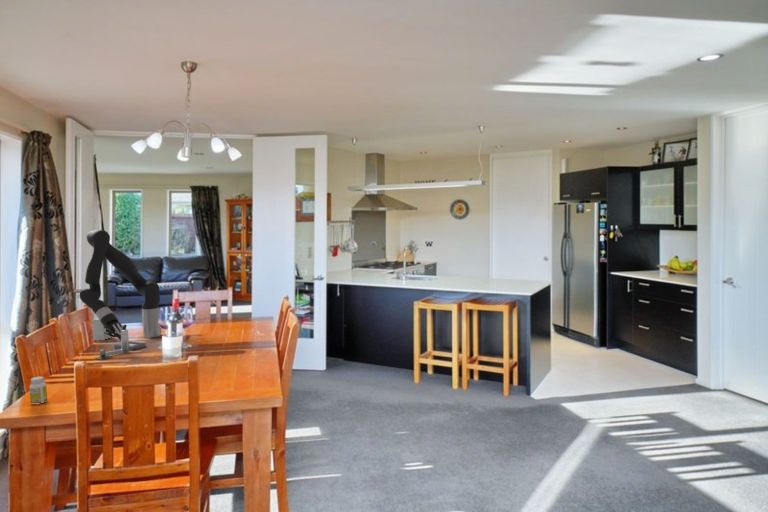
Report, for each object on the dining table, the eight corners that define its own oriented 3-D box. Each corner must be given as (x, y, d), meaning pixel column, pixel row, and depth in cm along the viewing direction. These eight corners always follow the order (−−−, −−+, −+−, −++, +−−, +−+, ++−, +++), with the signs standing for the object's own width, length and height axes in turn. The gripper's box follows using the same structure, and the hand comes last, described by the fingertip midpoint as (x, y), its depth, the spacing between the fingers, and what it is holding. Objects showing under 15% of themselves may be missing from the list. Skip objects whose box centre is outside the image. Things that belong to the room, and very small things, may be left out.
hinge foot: (104, 355, 264) (104, 355, 264) (112, 357, 262) (112, 356, 262) (93, 358, 259) (93, 358, 259) (101, 360, 256) (101, 359, 256)
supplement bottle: (43, 399, 199) (42, 375, 199) (50, 402, 196) (48, 377, 195) (28, 403, 195) (26, 378, 194) (34, 406, 192) (32, 381, 191)
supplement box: (103, 340, 299) (102, 319, 298) (93, 340, 301) (91, 319, 300) (113, 338, 306) (111, 317, 306) (102, 337, 308) (101, 317, 307)
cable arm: (102, 357, 258) (101, 335, 258) (98, 356, 260) (97, 334, 260) (130, 351, 270) (129, 330, 269) (127, 350, 272) (125, 329, 271)
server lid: (128, 344, 288) (128, 340, 288) (146, 346, 283) (145, 342, 282) (114, 348, 280) (113, 344, 280) (131, 350, 274) (131, 346, 274)
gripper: (98, 315, 268) (116, 339, 264) (120, 310, 280) (138, 333, 276) (92, 324, 271) (110, 349, 267) (114, 319, 283) (131, 342, 279)
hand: (124, 341), depth 272 cm, fingers closed
